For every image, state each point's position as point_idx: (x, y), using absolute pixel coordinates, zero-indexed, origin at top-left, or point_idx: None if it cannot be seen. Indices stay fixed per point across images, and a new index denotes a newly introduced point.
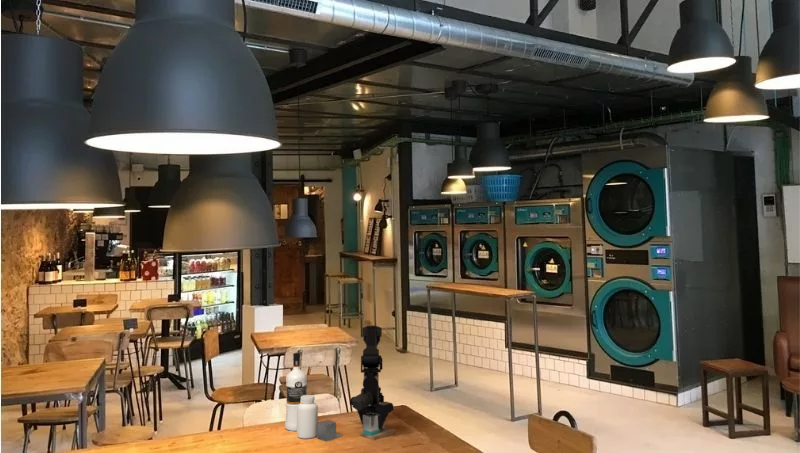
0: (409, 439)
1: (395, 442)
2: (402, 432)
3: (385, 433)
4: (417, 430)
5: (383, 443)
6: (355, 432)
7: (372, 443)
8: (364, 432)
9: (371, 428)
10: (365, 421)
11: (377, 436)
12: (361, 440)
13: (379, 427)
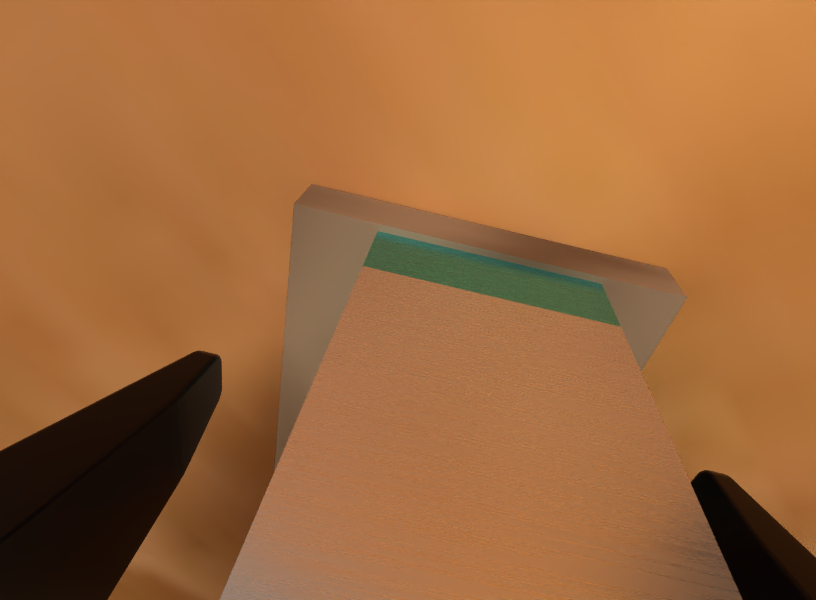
0: (7, 394)
1: (12, 245)
2: (235, 522)
3: (279, 409)
4: (173, 582)
5: (85, 122)
6: (802, 364)
7: (220, 13)
8: (563, 284)
9: (347, 310)
10: (569, 456)
11: (291, 271)
12: (512, 57)
13: (161, 369)
